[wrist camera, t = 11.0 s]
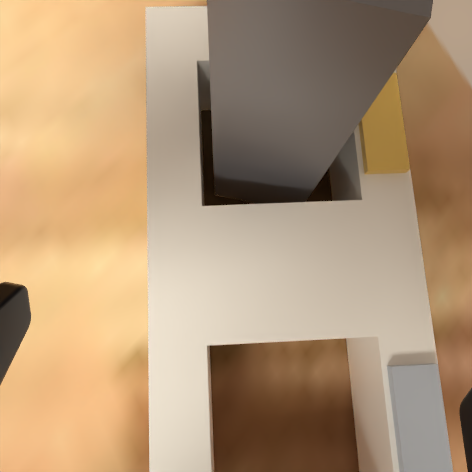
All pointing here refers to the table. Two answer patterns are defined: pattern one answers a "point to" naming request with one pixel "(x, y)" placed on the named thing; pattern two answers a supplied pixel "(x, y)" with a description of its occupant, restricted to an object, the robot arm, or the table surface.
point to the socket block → (283, 271)
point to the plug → (297, 86)
